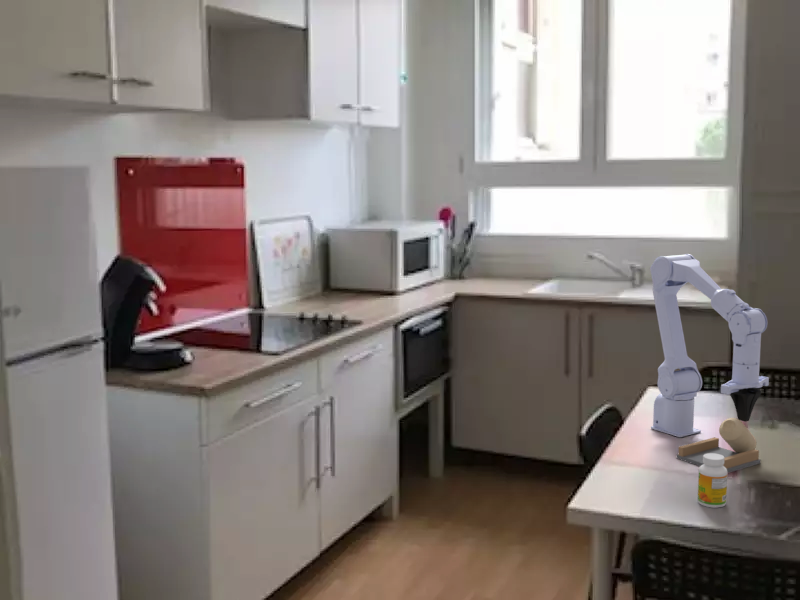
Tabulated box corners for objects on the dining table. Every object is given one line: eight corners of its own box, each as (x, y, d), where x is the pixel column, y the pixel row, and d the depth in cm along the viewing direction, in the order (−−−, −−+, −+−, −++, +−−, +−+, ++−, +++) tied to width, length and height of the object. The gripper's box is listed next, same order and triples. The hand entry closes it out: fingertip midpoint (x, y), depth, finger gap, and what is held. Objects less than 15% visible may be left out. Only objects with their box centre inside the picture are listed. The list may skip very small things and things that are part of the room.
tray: (676, 458, 211) (676, 446, 210) (712, 448, 217) (712, 436, 217) (723, 474, 200) (724, 461, 199) (760, 463, 206) (760, 451, 206)
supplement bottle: (693, 498, 186) (694, 452, 184) (719, 497, 186) (721, 451, 185) (704, 508, 181) (706, 461, 179) (730, 507, 181) (732, 460, 180)
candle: (759, 451, 210) (743, 432, 204) (736, 458, 212) (719, 440, 206) (753, 430, 213) (737, 411, 207) (730, 438, 216) (714, 419, 210)
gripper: (740, 369, 202) (737, 429, 205) (781, 361, 210) (778, 419, 212) (714, 364, 208) (711, 422, 210) (754, 355, 216) (752, 412, 218)
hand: (743, 420), depth 212 cm, fingers closed
